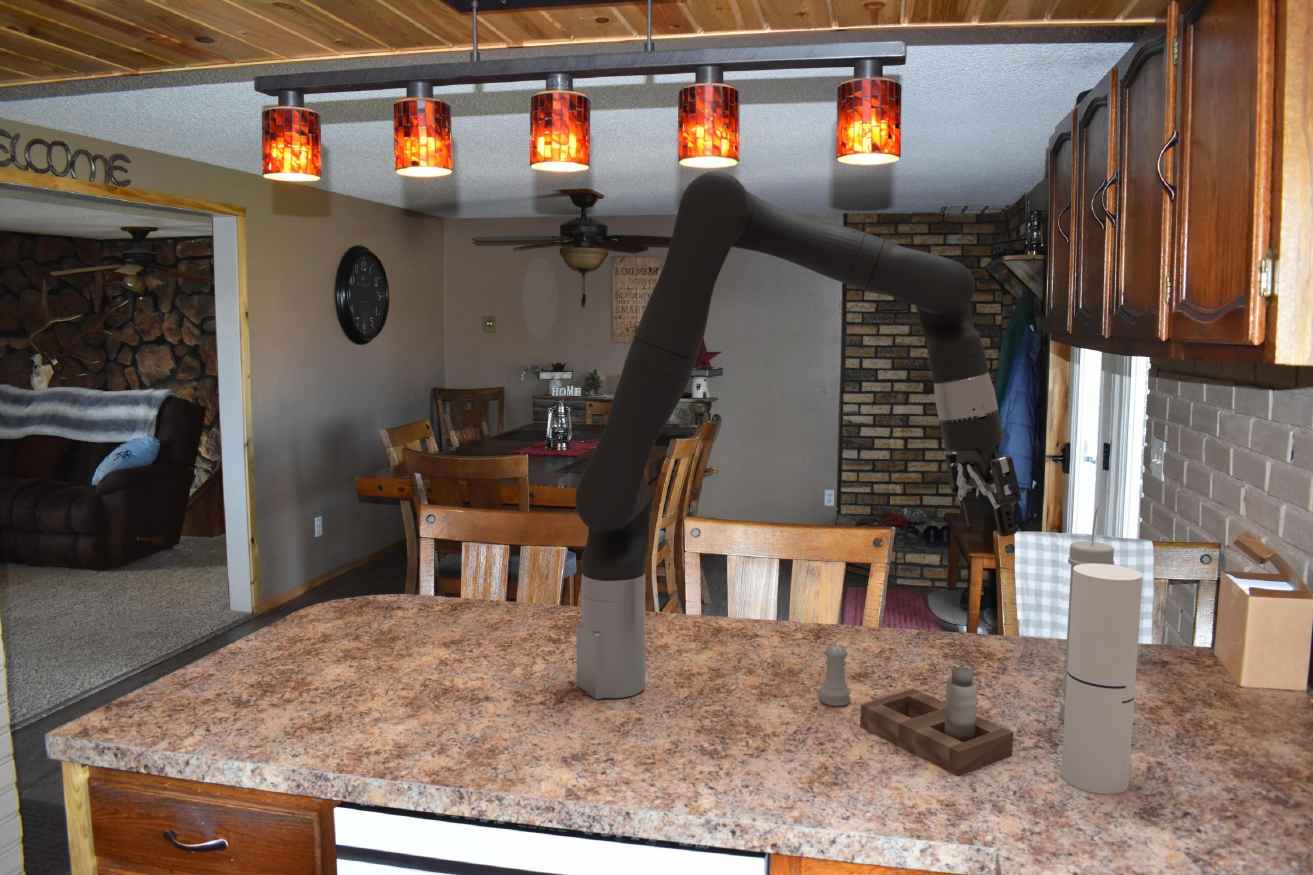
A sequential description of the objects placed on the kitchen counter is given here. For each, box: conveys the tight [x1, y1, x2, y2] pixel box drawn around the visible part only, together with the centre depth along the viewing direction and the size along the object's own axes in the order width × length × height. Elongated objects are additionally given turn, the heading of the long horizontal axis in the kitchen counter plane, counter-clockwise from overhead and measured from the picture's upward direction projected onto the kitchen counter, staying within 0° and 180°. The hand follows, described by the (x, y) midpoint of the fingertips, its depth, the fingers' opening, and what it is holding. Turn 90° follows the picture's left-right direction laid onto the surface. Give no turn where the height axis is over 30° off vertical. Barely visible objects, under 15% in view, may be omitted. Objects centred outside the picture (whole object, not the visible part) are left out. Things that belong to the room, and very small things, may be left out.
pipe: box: [1059, 506, 1115, 723], centre depth 121 cm, size 6×6×30 cm
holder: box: [859, 666, 1014, 777], centre depth 117 cm, size 16×10×11 cm, turn 32°
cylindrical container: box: [1060, 563, 1144, 795], centre depth 106 cm, size 7×7×25 cm
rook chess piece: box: [818, 643, 852, 707], centre depth 130 cm, size 4×4×8 cm
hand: (991, 530), depth 122 cm, fingers open, 8 cm apart
